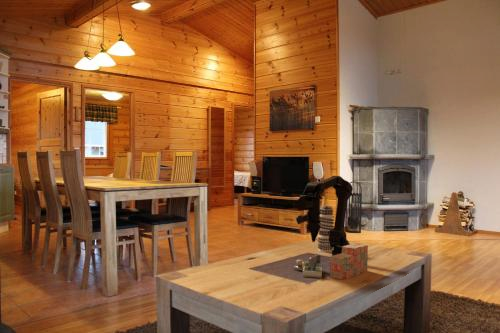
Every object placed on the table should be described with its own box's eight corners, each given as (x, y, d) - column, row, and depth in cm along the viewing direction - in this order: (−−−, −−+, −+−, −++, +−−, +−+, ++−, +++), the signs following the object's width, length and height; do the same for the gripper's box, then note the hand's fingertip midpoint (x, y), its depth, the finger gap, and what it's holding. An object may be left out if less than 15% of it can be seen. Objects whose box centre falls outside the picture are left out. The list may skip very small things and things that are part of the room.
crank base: (306, 268, 204) (306, 259, 204) (305, 271, 198) (306, 262, 198) (293, 267, 205) (293, 259, 205) (292, 270, 199) (292, 262, 199)
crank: (296, 266, 200) (296, 255, 200) (296, 264, 203) (296, 253, 203) (320, 267, 199) (320, 256, 198) (320, 265, 202) (320, 254, 202)
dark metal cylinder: (316, 272, 194) (316, 256, 194) (316, 274, 191) (316, 258, 190) (308, 272, 195) (308, 256, 195) (308, 274, 191) (308, 258, 191)
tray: (321, 272, 196) (321, 267, 196) (321, 277, 188) (321, 272, 188) (303, 271, 197) (303, 266, 197) (302, 276, 189) (302, 270, 189)
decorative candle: (317, 248, 249) (317, 205, 249) (333, 249, 248) (334, 205, 247) (317, 251, 240) (317, 206, 240) (334, 252, 239) (334, 207, 238)
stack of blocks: (342, 280, 185) (342, 251, 185) (329, 277, 190) (330, 249, 189) (367, 271, 200) (368, 244, 200) (355, 268, 205) (356, 242, 205)
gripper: (298, 206, 216) (297, 237, 217) (295, 211, 198) (295, 244, 198) (320, 207, 215) (320, 238, 215) (320, 211, 196) (319, 246, 196)
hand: (313, 241), depth 206 cm, fingers closed
